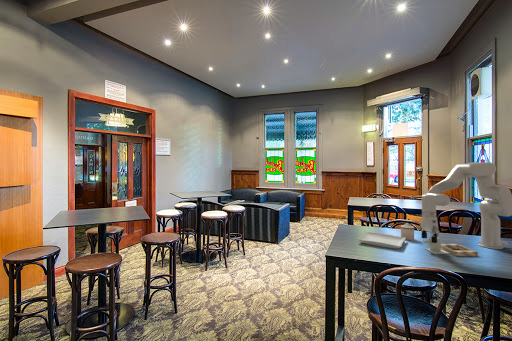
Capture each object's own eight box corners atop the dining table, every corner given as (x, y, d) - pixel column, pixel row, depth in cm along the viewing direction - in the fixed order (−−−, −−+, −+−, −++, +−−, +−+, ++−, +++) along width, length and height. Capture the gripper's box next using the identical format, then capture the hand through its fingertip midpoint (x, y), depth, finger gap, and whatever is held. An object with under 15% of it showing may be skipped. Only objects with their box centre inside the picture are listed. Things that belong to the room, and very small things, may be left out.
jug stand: (457, 247, 170) (457, 244, 170) (478, 256, 154) (478, 251, 154) (436, 247, 170) (436, 243, 170) (454, 255, 154) (454, 251, 154)
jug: (436, 249, 165) (436, 236, 165) (443, 252, 159) (443, 239, 159) (421, 249, 166) (421, 236, 166) (427, 252, 160) (427, 239, 160)
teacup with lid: (416, 240, 187) (416, 224, 186) (403, 240, 188) (403, 224, 188) (409, 236, 198) (409, 221, 198) (397, 235, 200) (397, 221, 200)
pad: (439, 249, 167) (439, 248, 167) (449, 253, 158) (449, 252, 158) (425, 249, 167) (425, 248, 167) (434, 253, 158) (434, 252, 158)
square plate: (400, 251, 163) (400, 245, 163) (356, 244, 179) (356, 238, 179) (406, 242, 184) (406, 236, 184) (366, 236, 201) (366, 231, 201)
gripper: (444, 216, 153) (444, 244, 154) (426, 211, 171) (426, 236, 171) (431, 216, 154) (432, 244, 154) (414, 211, 171) (415, 236, 171)
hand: (429, 240), depth 162 cm, fingers open, 9 cm apart
